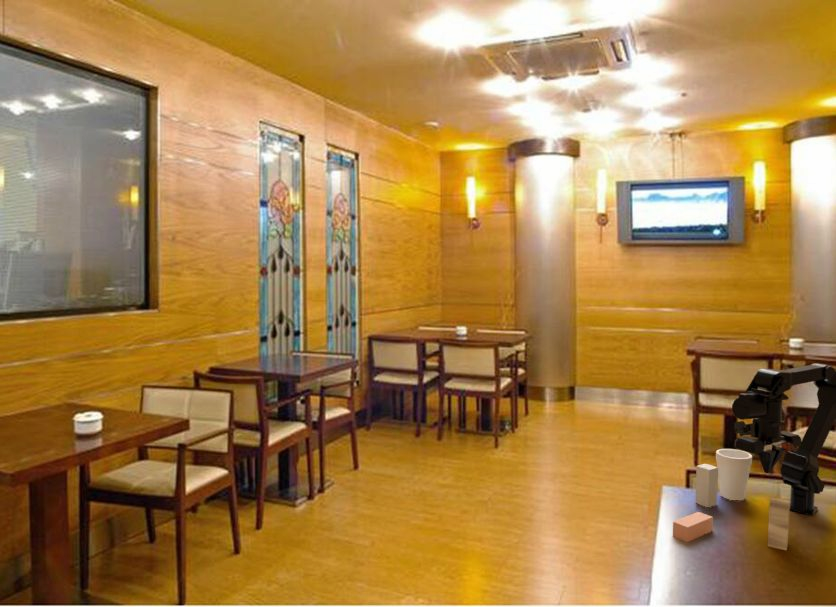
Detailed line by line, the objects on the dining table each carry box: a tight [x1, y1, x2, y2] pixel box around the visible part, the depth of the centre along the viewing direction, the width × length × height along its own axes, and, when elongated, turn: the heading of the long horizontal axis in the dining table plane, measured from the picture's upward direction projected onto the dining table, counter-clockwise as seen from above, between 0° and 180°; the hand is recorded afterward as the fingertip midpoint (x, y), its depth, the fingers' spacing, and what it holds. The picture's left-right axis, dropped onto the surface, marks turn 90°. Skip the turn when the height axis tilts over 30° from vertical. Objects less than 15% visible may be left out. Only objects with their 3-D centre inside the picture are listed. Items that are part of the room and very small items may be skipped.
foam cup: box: [715, 448, 753, 501], centre depth 184 cm, size 10×9×13 cm
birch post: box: [767, 496, 791, 551], centre depth 153 cm, size 4×4×11 cm
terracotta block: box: [672, 511, 714, 543], centre depth 160 cm, size 4×4×11 cm
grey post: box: [694, 463, 719, 508], centre depth 179 cm, size 4×4×11 cm
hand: (766, 472), depth 170 cm, fingers closed
